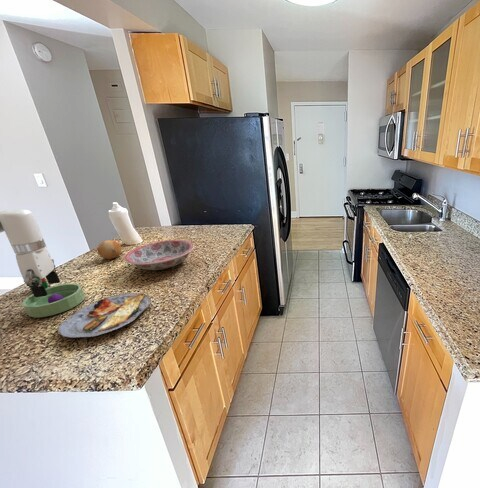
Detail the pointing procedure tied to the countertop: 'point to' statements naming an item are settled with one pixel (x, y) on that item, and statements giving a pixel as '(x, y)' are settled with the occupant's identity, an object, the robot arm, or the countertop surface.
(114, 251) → the onion
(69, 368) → the countertop surface
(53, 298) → the ball
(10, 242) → the robot arm
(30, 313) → the green bowl
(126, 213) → the white squeeze bottle
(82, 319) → the food plate
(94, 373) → the countertop surface
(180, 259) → the ceramic bowl
